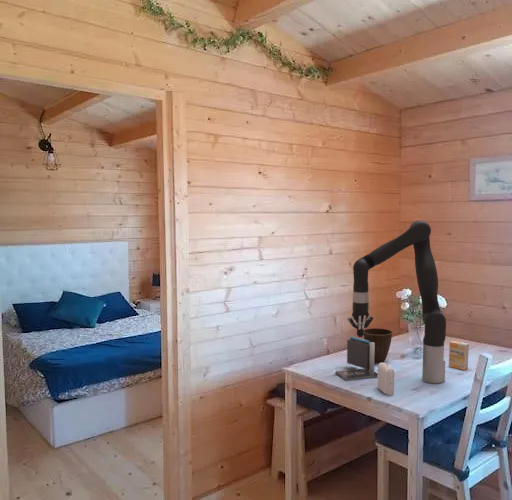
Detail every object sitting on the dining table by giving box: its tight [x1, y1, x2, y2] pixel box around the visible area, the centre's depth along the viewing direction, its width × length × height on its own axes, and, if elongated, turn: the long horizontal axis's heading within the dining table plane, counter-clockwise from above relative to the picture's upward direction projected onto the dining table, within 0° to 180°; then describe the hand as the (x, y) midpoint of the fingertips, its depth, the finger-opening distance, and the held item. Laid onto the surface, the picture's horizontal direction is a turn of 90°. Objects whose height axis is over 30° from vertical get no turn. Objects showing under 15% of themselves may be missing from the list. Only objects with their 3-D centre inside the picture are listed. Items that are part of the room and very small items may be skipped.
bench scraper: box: [346, 335, 375, 371], centre depth 253 cm, size 15×4×14 cm, turn 38°
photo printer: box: [376, 362, 395, 396], centre depth 225 cm, size 10×4×12 cm, turn 11°
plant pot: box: [363, 327, 393, 364], centre depth 269 cm, size 15×15×16 cm
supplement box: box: [448, 340, 470, 371], centre depth 258 cm, size 8×5×13 cm, turn 45°
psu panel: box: [335, 368, 378, 382], centre depth 246 cm, size 18×11×2 cm, turn 106°
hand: (360, 336), depth 245 cm, fingers closed
